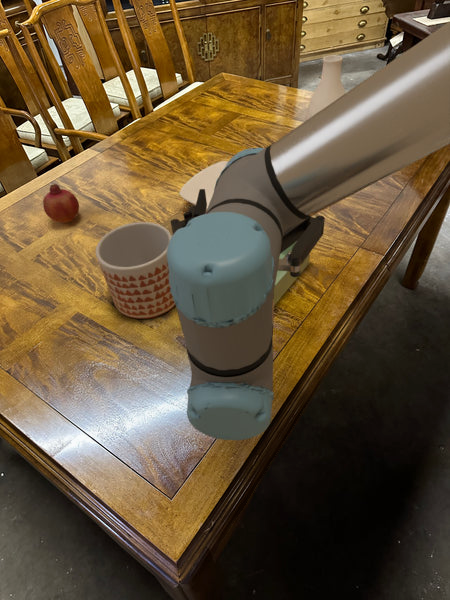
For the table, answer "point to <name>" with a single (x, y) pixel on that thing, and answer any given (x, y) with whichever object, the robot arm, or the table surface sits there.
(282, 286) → the bin
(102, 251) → the planter
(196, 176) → the bowl
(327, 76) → the bottle
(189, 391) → the robot arm
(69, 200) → the fruit
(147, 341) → the table surface
